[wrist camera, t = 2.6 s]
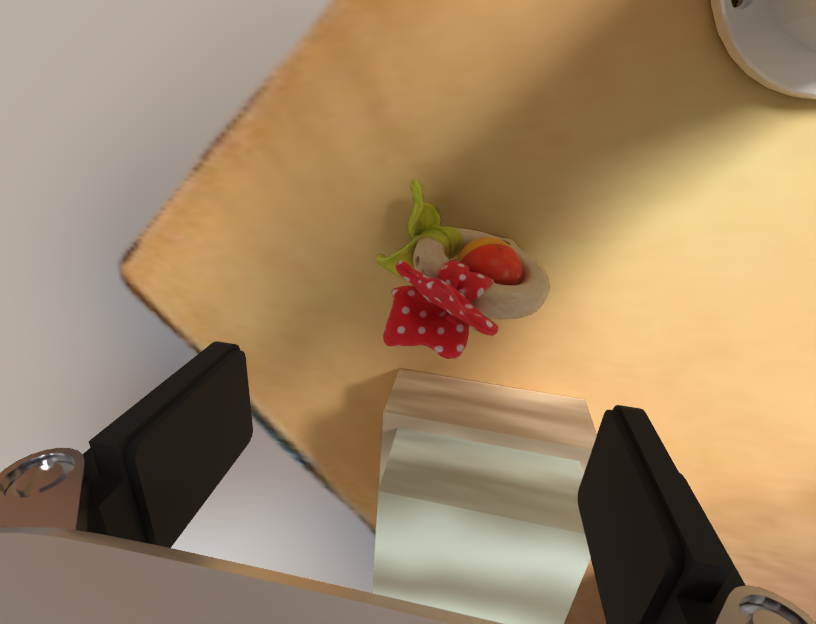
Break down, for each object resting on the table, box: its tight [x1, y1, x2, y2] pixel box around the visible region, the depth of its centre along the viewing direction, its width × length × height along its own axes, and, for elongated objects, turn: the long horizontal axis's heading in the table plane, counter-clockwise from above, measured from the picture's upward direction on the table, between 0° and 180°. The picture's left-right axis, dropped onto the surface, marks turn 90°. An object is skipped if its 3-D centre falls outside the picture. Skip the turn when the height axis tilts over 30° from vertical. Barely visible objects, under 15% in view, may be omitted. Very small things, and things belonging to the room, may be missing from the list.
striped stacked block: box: [372, 369, 597, 624], centre depth 28 cm, size 14×13×10 cm
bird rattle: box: [376, 179, 550, 359], centre depth 21 cm, size 6×11×9 cm
